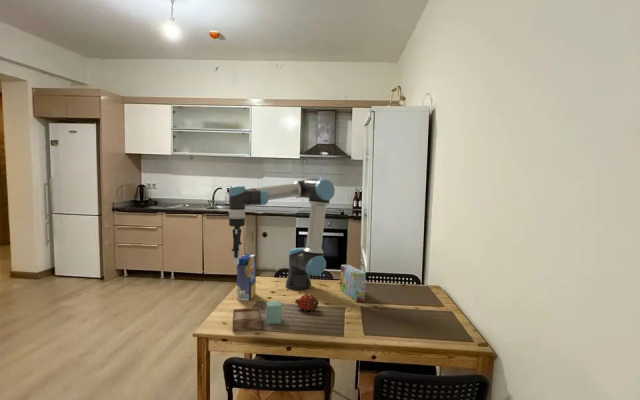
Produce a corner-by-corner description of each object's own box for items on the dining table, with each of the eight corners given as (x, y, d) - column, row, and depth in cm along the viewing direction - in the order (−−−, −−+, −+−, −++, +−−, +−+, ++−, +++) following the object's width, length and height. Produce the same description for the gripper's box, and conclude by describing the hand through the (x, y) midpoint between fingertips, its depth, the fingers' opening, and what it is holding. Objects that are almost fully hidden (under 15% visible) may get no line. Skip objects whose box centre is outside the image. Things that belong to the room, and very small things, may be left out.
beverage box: (255, 293, 198) (255, 254, 196) (249, 300, 187) (249, 259, 186) (243, 293, 199) (243, 254, 197) (236, 299, 188) (237, 258, 186)
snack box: (365, 300, 190) (366, 273, 189) (356, 302, 188) (357, 274, 187) (348, 289, 210) (348, 263, 209) (339, 290, 208) (340, 264, 207)
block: (279, 317, 165) (279, 300, 165) (281, 323, 159) (281, 305, 159) (266, 318, 164) (266, 301, 163) (267, 324, 158) (267, 306, 157)
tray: (259, 318, 164) (260, 307, 164) (261, 329, 152) (261, 317, 152) (233, 319, 162) (233, 309, 161) (232, 331, 150) (232, 319, 150)
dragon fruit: (319, 315, 173) (296, 316, 176) (322, 300, 179) (299, 301, 182) (315, 305, 168) (291, 306, 171) (317, 290, 174) (294, 291, 177)
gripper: (230, 215, 185) (230, 255, 186) (227, 221, 161) (226, 267, 162) (245, 215, 186) (245, 255, 188) (244, 221, 162) (243, 267, 163)
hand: (236, 260), depth 175 cm, fingers open, 13 cm apart
